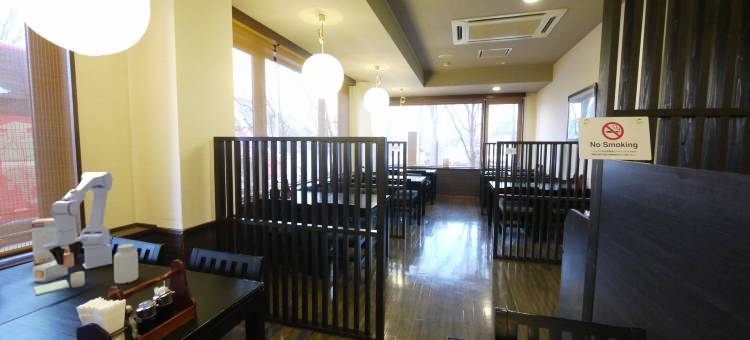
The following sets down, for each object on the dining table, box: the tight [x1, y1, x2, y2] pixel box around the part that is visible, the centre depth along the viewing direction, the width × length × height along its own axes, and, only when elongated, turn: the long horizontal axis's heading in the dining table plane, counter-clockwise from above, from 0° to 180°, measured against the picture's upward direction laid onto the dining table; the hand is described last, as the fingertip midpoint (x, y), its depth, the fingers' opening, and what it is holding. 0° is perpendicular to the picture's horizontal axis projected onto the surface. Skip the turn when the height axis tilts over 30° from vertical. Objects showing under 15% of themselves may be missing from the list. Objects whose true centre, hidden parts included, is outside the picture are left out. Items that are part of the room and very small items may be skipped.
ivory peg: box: [70, 270, 86, 288], centre depth 124 cm, size 4×4×5 cm
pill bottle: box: [113, 243, 139, 284], centre depth 130 cm, size 8×8×15 cm
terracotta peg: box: [60, 253, 75, 269], centre depth 126 cm, size 4×4×5 cm
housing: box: [32, 260, 69, 284], centre depth 130 cm, size 9×6×6 cm
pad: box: [33, 279, 71, 297], centre depth 122 cm, size 9×9×1 cm
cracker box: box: [31, 216, 79, 266], centre depth 148 cm, size 14×6×21 cm, turn 115°
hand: (67, 262), depth 126 cm, fingers closed on terracotta peg, 4 cm apart
